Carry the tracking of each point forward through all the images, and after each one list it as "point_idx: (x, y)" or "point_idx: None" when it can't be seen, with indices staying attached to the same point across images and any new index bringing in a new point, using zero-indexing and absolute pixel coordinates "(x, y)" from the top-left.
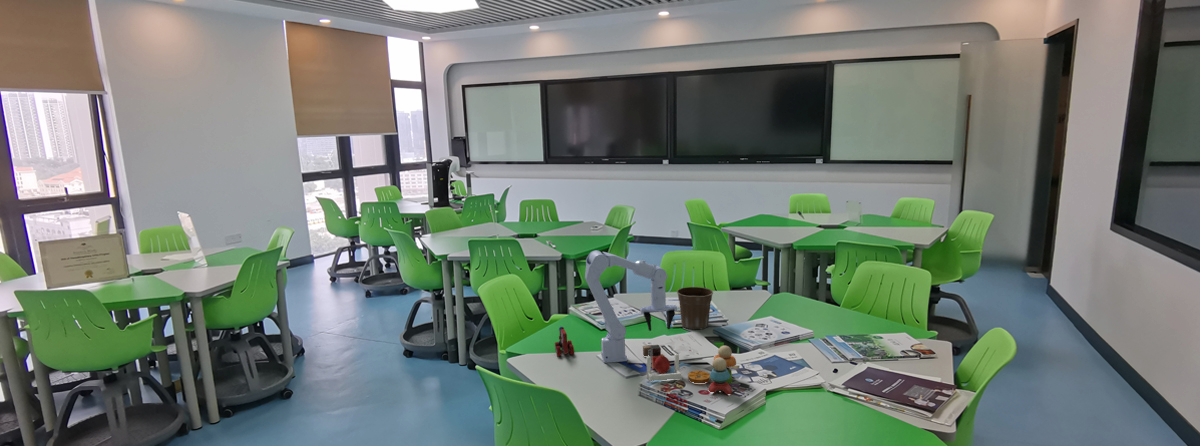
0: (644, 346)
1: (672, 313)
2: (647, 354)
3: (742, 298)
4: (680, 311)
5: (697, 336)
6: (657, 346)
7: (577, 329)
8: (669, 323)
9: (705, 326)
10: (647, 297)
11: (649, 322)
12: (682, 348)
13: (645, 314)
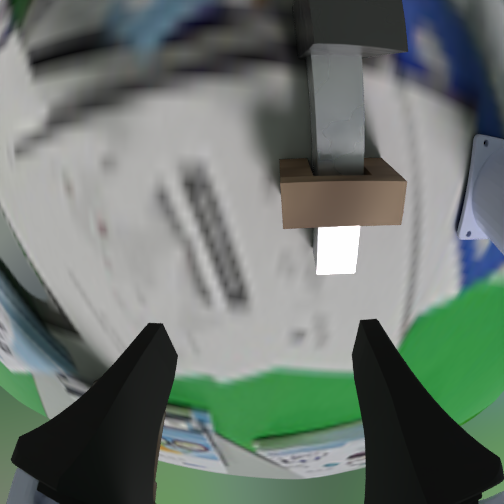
0: (394, 211)
1: (23, 468)
2: (366, 163)
3: None
4: (157, 448)
5: (102, 344)
6: (336, 8)
7: (454, 405)
8: (123, 371)
9: (94, 383)
10: (244, 475)
11: (412, 402)
12: (138, 255)
13: (465, 500)
